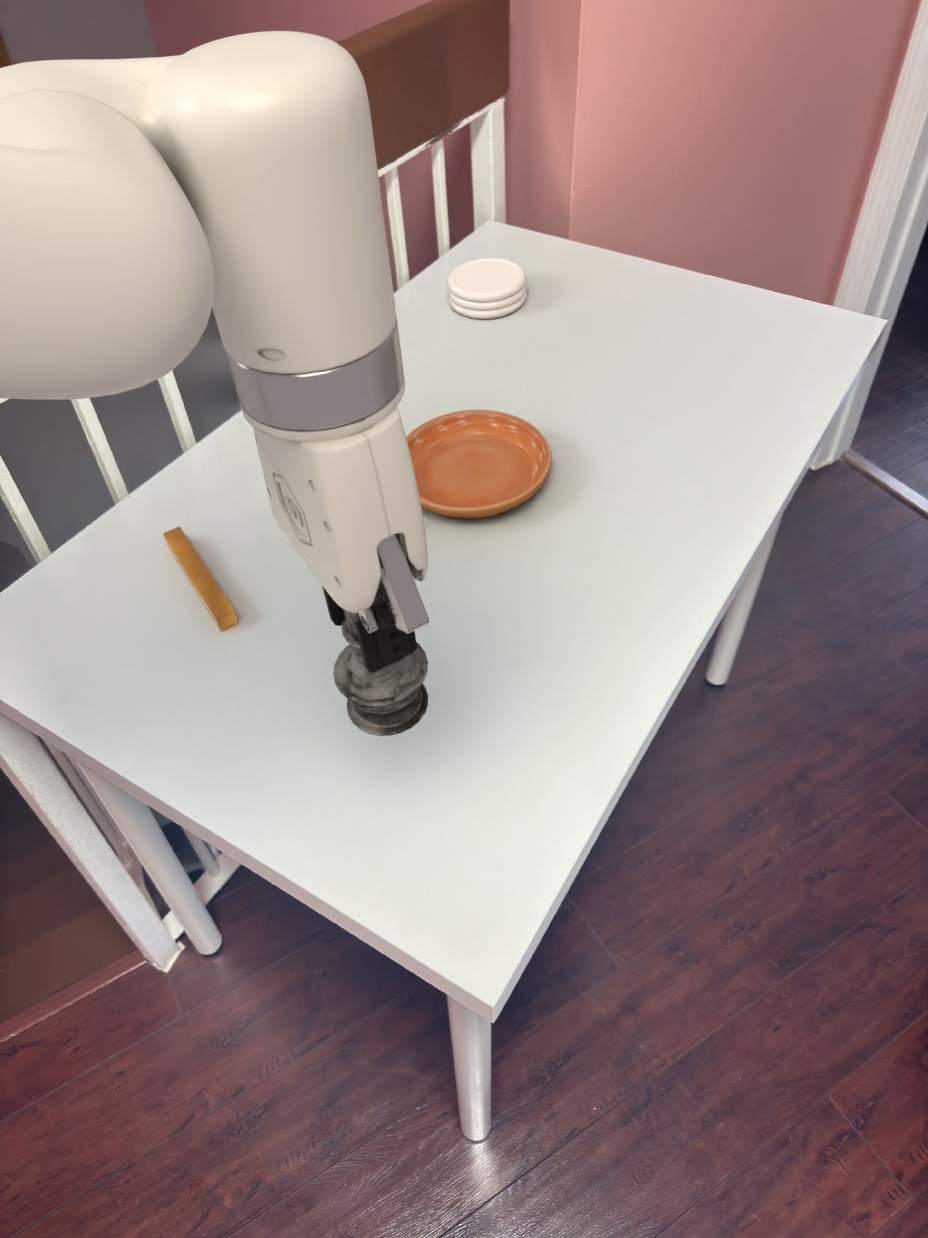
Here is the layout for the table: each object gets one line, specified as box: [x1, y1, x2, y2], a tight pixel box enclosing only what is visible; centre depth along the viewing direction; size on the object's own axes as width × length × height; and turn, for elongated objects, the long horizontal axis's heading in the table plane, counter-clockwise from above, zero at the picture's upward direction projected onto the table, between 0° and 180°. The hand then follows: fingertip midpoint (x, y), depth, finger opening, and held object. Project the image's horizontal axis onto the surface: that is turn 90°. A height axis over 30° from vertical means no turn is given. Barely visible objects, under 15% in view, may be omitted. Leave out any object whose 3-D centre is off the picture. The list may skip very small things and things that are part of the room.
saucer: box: [406, 409, 552, 520], centre depth 93 cm, size 16×16×3 cm
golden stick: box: [162, 526, 240, 632], centre depth 86 cm, size 2×14×2 cm, turn 32°
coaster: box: [447, 257, 528, 320], centre depth 117 cm, size 10×10×4 cm
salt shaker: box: [332, 588, 429, 737], centre depth 54 cm, size 6×6×12 cm
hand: (373, 634), depth 54 cm, fingers closed on salt shaker, 3 cm apart
